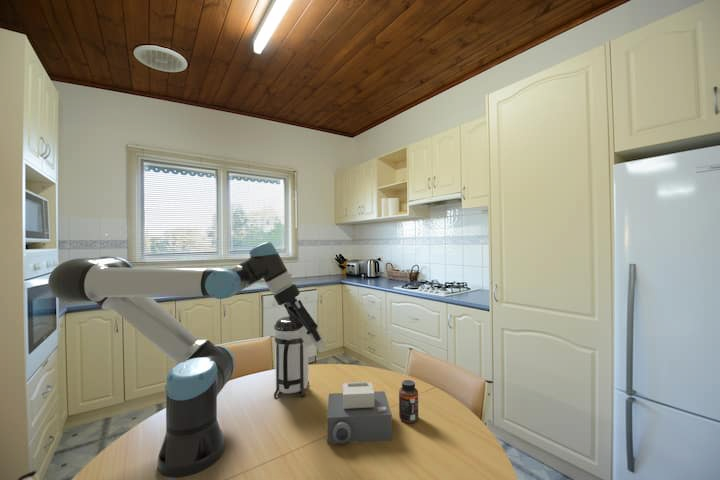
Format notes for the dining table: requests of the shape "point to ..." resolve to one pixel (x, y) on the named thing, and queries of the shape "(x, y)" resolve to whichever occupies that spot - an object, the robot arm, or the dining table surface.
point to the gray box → (358, 420)
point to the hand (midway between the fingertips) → (316, 347)
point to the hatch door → (358, 395)
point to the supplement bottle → (408, 402)
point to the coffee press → (290, 359)
